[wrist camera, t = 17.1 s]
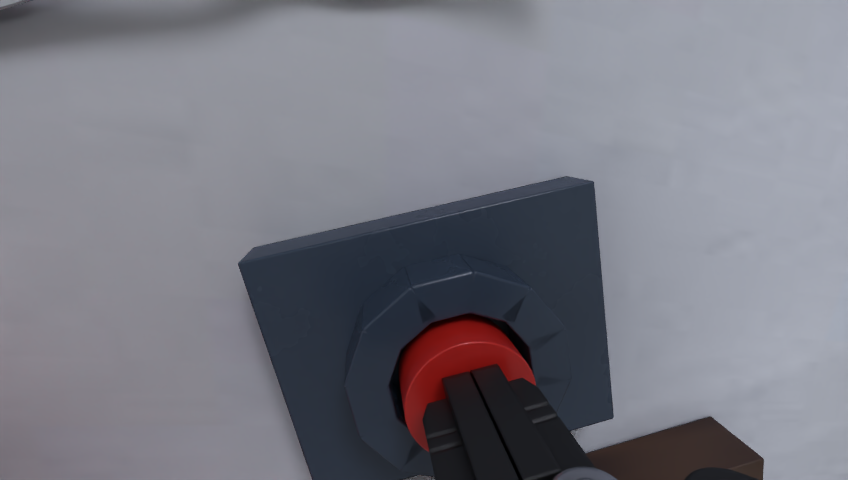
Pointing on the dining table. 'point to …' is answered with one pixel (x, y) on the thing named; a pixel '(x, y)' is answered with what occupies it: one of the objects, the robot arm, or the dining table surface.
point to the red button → (452, 362)
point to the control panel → (678, 453)
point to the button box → (430, 315)
